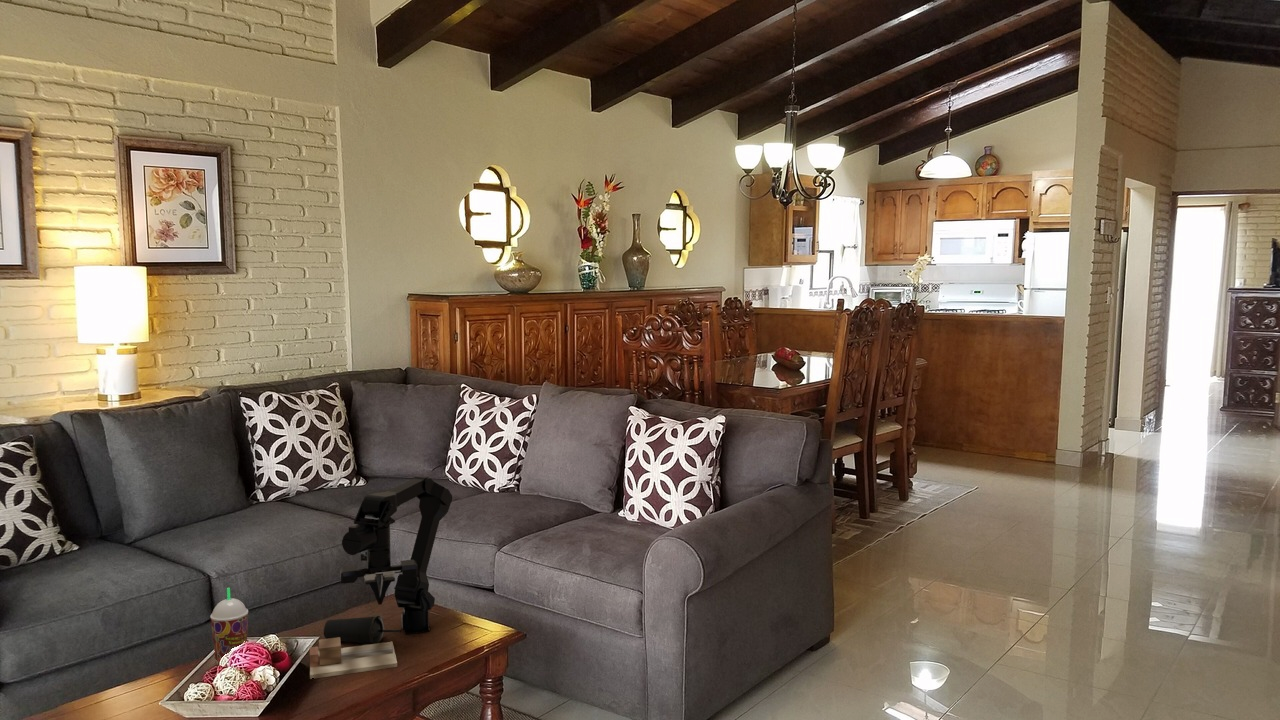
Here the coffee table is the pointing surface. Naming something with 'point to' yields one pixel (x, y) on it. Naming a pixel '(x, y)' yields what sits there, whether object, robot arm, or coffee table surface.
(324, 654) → the block
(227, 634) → the smoothie
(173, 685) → the coffee table surface
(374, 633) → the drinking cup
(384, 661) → the board
